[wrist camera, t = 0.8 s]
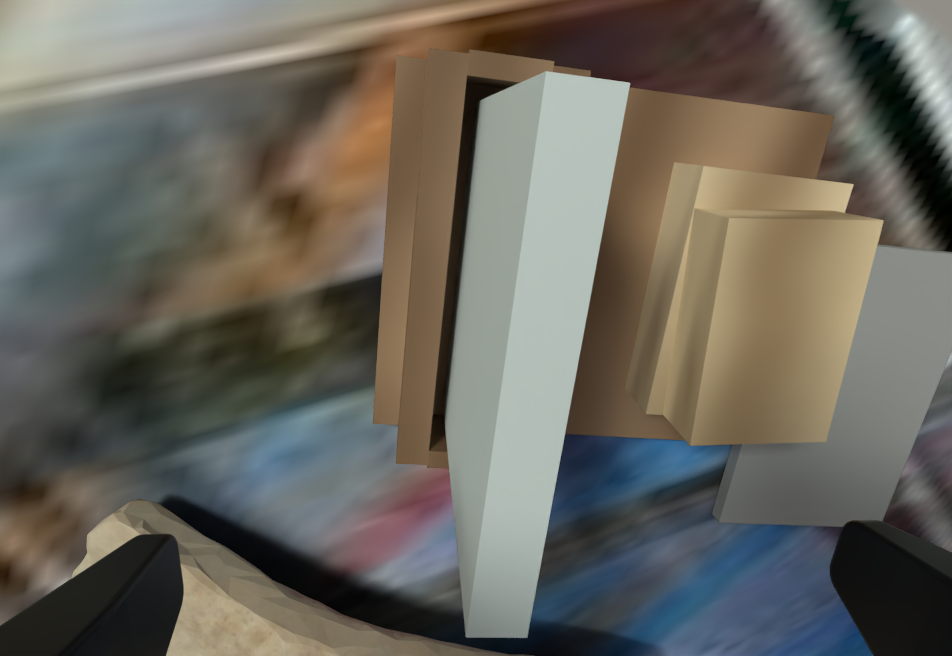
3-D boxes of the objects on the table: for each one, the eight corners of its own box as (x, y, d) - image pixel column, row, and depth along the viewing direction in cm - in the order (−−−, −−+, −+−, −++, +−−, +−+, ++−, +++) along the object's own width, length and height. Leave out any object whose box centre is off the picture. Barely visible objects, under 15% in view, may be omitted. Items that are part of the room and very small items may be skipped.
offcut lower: (810, 178, 19) (853, 184, 17) (746, 396, 21) (778, 421, 20) (674, 162, 18) (703, 166, 16) (625, 388, 21) (645, 414, 19)
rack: (814, 113, 19) (897, 110, 16) (723, 432, 23) (775, 482, 20) (397, 55, 17) (393, 38, 14) (374, 413, 21) (367, 464, 18)
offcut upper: (833, 210, 17) (883, 220, 15) (786, 411, 20) (826, 442, 18) (694, 208, 17) (729, 218, 15) (662, 414, 19) (689, 445, 17)
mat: (974, 254, 22) (989, 258, 21) (869, 519, 25) (879, 528, 25) (793, 235, 21) (803, 238, 20) (711, 513, 24) (718, 522, 24)
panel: (513, 107, 17) (630, 82, 8) (476, 404, 20) (526, 637, 11) (474, 102, 17) (545, 71, 8) (442, 402, 20) (465, 637, 11)
